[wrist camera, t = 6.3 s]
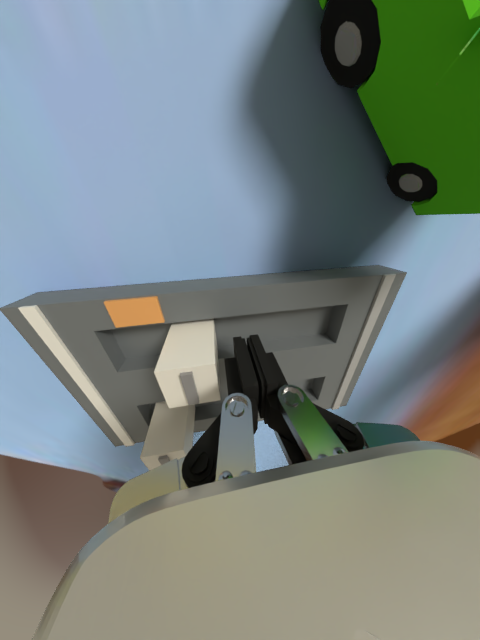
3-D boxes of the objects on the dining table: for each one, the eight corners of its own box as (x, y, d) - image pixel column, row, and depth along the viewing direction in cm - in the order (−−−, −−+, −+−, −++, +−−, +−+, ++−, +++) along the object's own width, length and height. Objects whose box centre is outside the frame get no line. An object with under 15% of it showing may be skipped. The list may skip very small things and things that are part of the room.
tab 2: (190, 389, 17) (182, 452, 12) (195, 407, 18) (190, 470, 14) (158, 394, 17) (138, 461, 12) (166, 412, 18) (151, 478, 14)
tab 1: (213, 315, 13) (215, 366, 9) (217, 345, 15) (220, 403, 10) (173, 319, 13) (152, 375, 8) (181, 350, 14) (168, 411, 10)
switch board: (378, 264, 15) (409, 273, 12) (333, 388, 23) (347, 406, 20) (37, 292, 12) (-5, 310, 9) (125, 422, 20) (114, 448, 18)
